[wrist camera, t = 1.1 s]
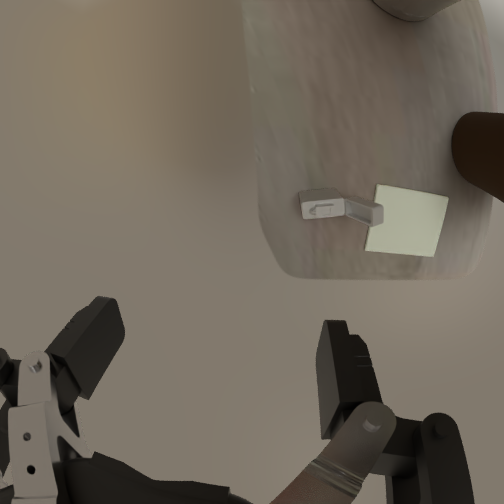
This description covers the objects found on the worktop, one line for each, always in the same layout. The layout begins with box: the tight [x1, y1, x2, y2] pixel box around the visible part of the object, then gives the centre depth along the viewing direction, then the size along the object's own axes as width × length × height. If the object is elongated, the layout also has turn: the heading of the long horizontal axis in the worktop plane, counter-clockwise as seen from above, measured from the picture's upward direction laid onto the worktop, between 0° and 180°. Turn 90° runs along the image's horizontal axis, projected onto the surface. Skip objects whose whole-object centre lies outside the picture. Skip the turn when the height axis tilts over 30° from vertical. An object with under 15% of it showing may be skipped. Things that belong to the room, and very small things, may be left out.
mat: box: [364, 184, 449, 257], centre depth 30 cm, size 8×10×1 cm
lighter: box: [299, 188, 384, 227], centre depth 26 cm, size 7×2×8 cm, turn 99°
